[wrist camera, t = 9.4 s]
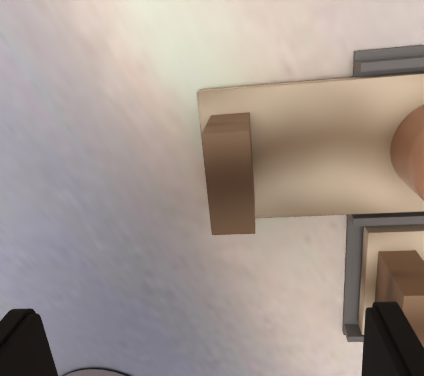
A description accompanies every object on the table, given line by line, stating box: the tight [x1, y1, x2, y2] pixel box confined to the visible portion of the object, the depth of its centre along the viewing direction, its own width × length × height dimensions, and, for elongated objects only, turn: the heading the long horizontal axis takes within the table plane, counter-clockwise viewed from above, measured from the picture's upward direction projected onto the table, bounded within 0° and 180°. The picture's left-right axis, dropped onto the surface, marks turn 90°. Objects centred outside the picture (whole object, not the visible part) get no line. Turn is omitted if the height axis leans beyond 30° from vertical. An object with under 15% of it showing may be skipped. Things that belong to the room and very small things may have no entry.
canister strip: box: [197, 71, 424, 235], centre depth 23 cm, size 9×22×6 cm, turn 95°
